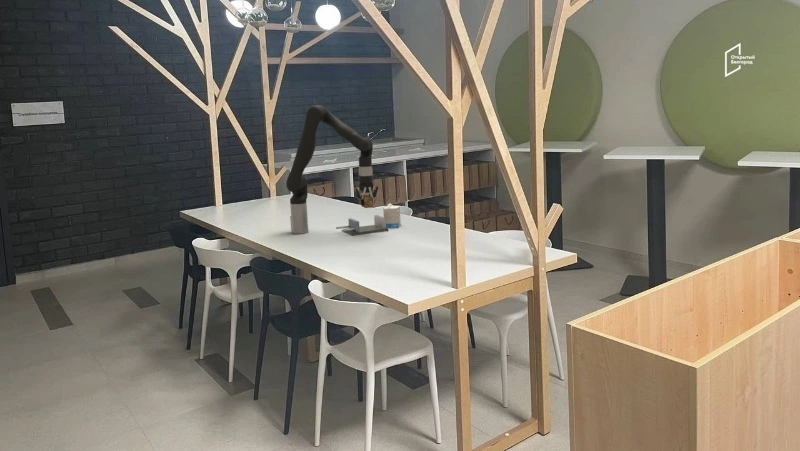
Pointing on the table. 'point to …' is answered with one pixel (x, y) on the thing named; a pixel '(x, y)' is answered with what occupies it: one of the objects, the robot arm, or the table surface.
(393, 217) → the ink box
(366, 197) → the block
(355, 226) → the sliding jaw
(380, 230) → the vise base
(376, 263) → the table surface
